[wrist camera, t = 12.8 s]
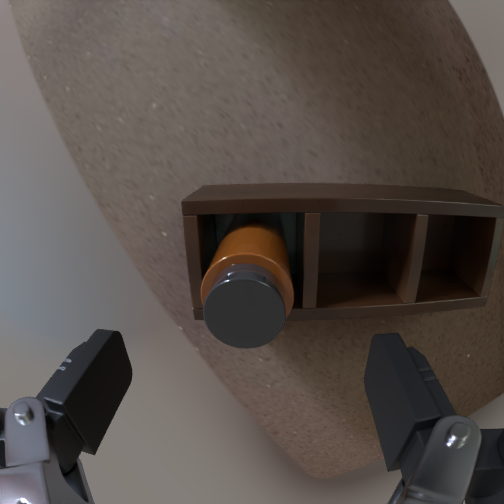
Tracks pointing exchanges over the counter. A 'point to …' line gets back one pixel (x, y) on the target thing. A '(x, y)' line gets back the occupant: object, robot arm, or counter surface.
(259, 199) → the holder
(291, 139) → the counter surface
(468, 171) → the counter surface
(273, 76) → the counter surface
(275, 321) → the spice bottle
